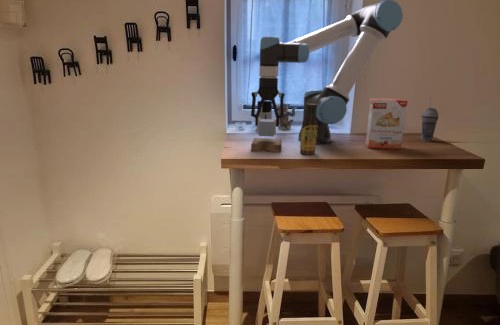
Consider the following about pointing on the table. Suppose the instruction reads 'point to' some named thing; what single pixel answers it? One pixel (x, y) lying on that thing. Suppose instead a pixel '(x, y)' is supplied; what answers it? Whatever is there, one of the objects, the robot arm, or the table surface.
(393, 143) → the cracker box
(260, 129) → the grey cube
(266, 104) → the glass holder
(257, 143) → the walnut base
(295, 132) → the table surface
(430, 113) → the beverage cup
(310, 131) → the sauce bottle
